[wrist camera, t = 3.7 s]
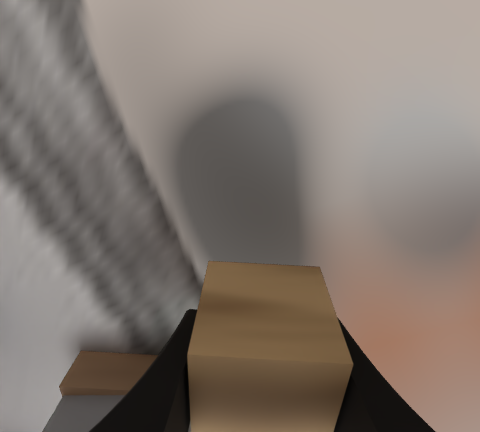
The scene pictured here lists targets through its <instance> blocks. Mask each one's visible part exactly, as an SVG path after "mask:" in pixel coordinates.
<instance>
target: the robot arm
mask: <svg viewBox="0 0 480 432" xmlns="http://www.w3.org/2000/svg"><path fill="white" fill-rule="evenodd" d="M196 314H197V310H195V309H189V310H187V311H186V313H185V315H184V317H183V319H182V320H181V322H180V324H179V325H178V327H177V329H176V330H175V332H174V333H173V335H172V336H171V338H170V339H169V341H168V342H167V344H166V345H165V347H164V348H163V349H162V351H161V352H160V354H159V355H158V356H157V358H156V359H155V360H154V361H153V363H152V364H151V365H150V367H149V368H148V369H147V370H146V372H145V373H144V374H143V375H142V377H141V378H140V379H139V380H138V381H137V383H136V384H135V385H134V386H133V387H132V388H131V389H130V391H129V392H128V393H127V394H126V395H125V396H124V397H123V398H122V399H121V400H120V401H119V402H118V403H117V404H116V405H115V407H114V408H113V409H112V410H111V411H110V412H109V413H108V414H107V415H106V416H105V417H104V418H103V419H102V420H101V421H100V422H99V423H97V424H96V425H95V426H94V427H93V428H92V429H91V430H90V431H89V432H188V429H189V425H190V421H191V419H190V399H189V379H188V359H187V354H188V349H189V345H190V340H191V336H192V332H193V327H194V323H195V318H196ZM338 321H339V324H340V327H341V330H342V333H343V336H344V339H345V341H346V344H347V347H348V350H349V353H350V356H351V359H352V362H353V367H352V371H351V374H350V378H349V381H348V384H347V388H346V391H345V394H344V398H343V401H342V405H341V408H340V411H339V415H338V418H337V422H336V425H335V428H334V432H435V431H434V430H433V429H432V428H431V427H430V426H429V425H428V424H427V423H426V422H425V421H424V420H423V419H422V418H421V417H420V416H419V415H418V414H417V413H416V412H415V411H414V410H413V409H412V408H411V407H410V406H409V405H408V404H407V403H406V402H405V401H404V400H403V399H402V398H401V396H399V395H398V393H397V392H396V391H395V390H394V389H393V388H392V387H391V385H390V384H389V383H388V382H387V381H386V380H385V378H384V377H383V376H382V375H381V374H380V372H379V371H378V370H377V369H376V368H375V366H374V365H373V364H372V363H371V361H370V360H369V359H368V358H367V356H366V355H365V354H364V353H363V351H362V350H361V349H360V347H359V346H358V345H357V343H356V342H355V341H354V339H353V338H352V337H351V335H350V334H349V332H348V331H347V330H346V328H345V327H344V325H343V324H342V323H341V321H340V320H339V319H338Z"/></svg>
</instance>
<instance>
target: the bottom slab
mask: <svg viewBox="0 0 480 432" xmlns="http://www.w3.org/2000/svg"><path fill="white" fill-rule="evenodd" d="M157 356H158V355H147V354H129V353H111V352H94V351H80V353H79V354H78V356H77V358H76V359H75V361H74V363H73V364H72V366H71V368H70V369H69V371H68V372H67V374H66V376H65V377H64V379H63V381H62V382H61V384H60V385H59V388H60V391H61V394H62V397H63V396H64V395H126V394H127V393H128V392H129V391H130V389H131V388H132V387H133V386H134V385H135V384H136V383H137V381H138V380H139V379H140V378H141V377H142V375H143V374H144V373H145V372H146V370H147V369H148V368H149V367H150V365H151V364H152V363H153V361H154V360H155V359H156V358H157Z"/></svg>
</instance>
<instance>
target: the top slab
mask: <svg viewBox="0 0 480 432" xmlns="http://www.w3.org/2000/svg"><path fill="white" fill-rule="evenodd" d="M124 396H125V395H64V396H63V397H62V399H61V401H60V403H59V404H58V406H57V408H56V409H55V411H54V413H53V414H52V416H51V418H50V420H49V421H48V423H47V425H46V426H45V428H44V430H43V431H42V432H89V431H90V430H91V429H92V428H93V427H94V426H95V425H96V424H97V423H99V422H100V421H101V420H102V419H103V418H104V417H105V416H106V415H107V414H108V413H109V412H110V411H111V410H112V409H113V408H114V407H115V405H116V404H117V403H118V402H119V401H120V400H121V399H122V398H123V397H124ZM188 432H191V421H190V425H189V429H188Z"/></svg>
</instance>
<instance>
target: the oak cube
mask: <svg viewBox="0 0 480 432" xmlns="http://www.w3.org/2000/svg"><path fill="white" fill-rule="evenodd" d="M187 359H188V379H189V399H190V419H191V432H334V428H335V425H336V422H337V418H338V415H339V411H340V408H341V405H342V401H343V398H344V394H345V391H346V388H347V384H348V381H349V378H350V374H351V371H352V367H353V362H352V359H351V356H350V353H349V350H348V347H347V344H346V341H345V339H344V336H343V333H342V330H341V327H340V324H339V321H338V318H337V316H336V313H335V310H334V307H333V304H332V302H331V298H330V295H329V293H328V290H327V287H326V284H325V281H324V278H323V275H322V272H321V270H320V267H311V266H294V265H275V264H257V263H237V262H220V261H219V262H218V261H209V262H208V266H207V270H206V275H205V279H204V283H203V288H202V292H201V297H200V301H199V305H198V310H197V314H196V318H195V323H194V327H193V332H192V336H191V340H190V345H189V349H188V354H187Z"/></svg>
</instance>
